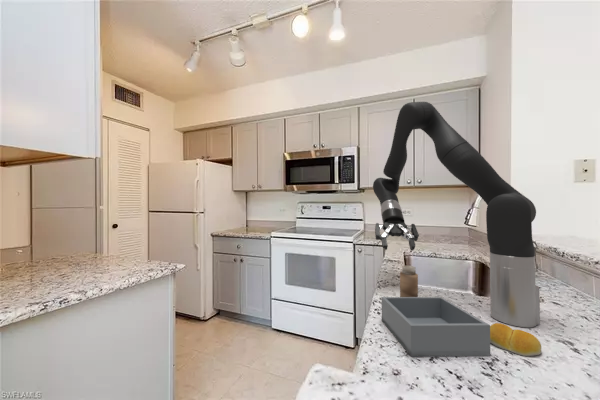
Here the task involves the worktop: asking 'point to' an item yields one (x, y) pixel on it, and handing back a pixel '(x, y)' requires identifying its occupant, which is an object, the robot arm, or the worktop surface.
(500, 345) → the bread roll
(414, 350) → the bin
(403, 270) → the pepper mill
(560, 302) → the worktop surface
